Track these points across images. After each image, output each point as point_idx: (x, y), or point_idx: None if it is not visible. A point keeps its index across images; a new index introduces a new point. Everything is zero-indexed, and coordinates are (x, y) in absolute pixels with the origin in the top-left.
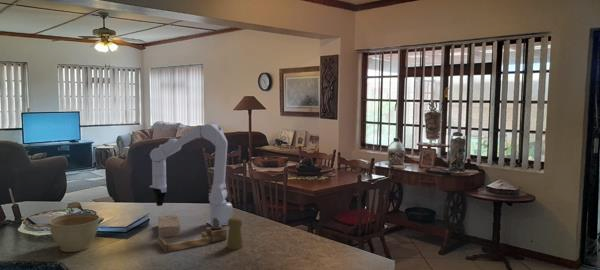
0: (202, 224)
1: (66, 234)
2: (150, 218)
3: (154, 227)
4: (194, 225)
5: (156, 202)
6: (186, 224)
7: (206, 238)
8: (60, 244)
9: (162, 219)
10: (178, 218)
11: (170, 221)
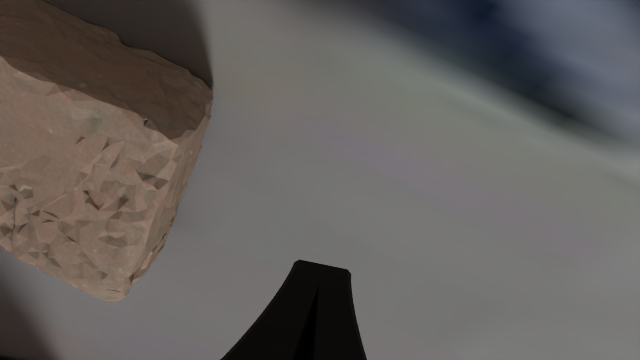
0: (64, 342)
1: None
2: (578, 144)
3: (176, 10)
4: (63, 298)
5: (314, 298)
6: None
7: None
8: None
9: (8, 101)
10: (5, 249)
11: None
